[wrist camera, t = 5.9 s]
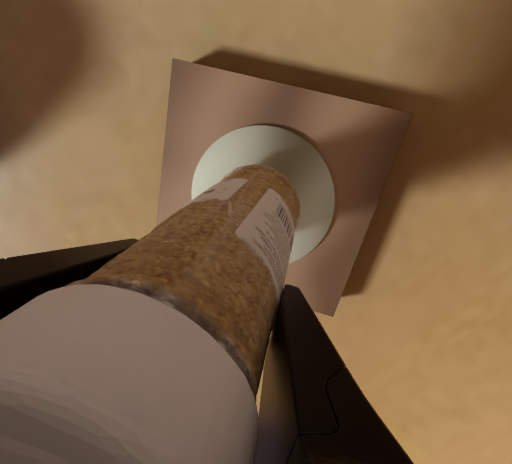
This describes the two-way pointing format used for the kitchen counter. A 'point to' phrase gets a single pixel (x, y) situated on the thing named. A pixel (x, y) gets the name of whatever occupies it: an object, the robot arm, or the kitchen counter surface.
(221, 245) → the sprinkles bottle
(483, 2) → the kitchen counter surface
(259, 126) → the walnut plinth
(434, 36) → the kitchen counter surface
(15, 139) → the kitchen counter surface
